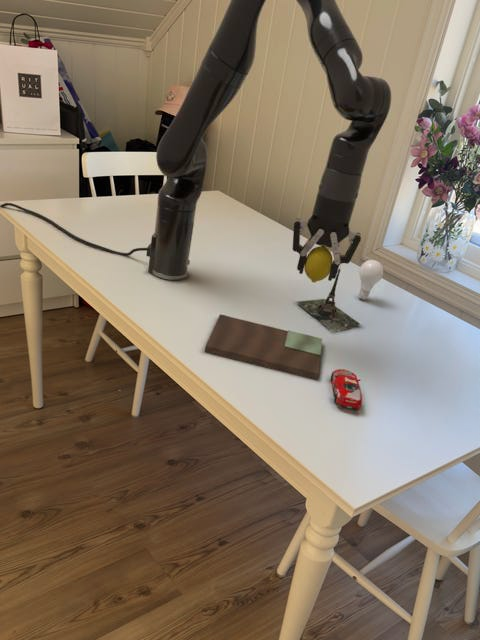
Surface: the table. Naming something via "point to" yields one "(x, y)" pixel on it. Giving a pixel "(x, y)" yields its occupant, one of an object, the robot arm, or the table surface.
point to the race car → (346, 389)
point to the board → (266, 346)
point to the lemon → (318, 263)
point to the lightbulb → (369, 277)
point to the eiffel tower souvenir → (329, 311)
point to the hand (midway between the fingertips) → (315, 275)
